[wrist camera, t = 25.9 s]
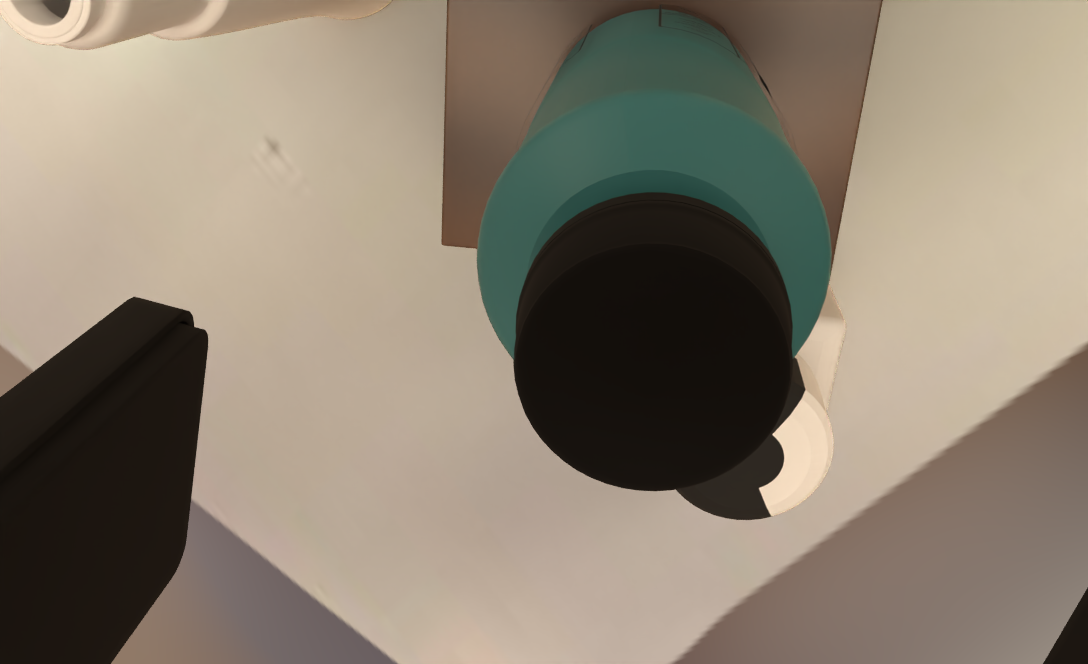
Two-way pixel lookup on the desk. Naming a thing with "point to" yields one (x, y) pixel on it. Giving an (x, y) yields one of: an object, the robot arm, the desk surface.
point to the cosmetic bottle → (161, 18)
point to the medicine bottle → (786, 437)
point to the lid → (576, 3)
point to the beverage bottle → (654, 256)
